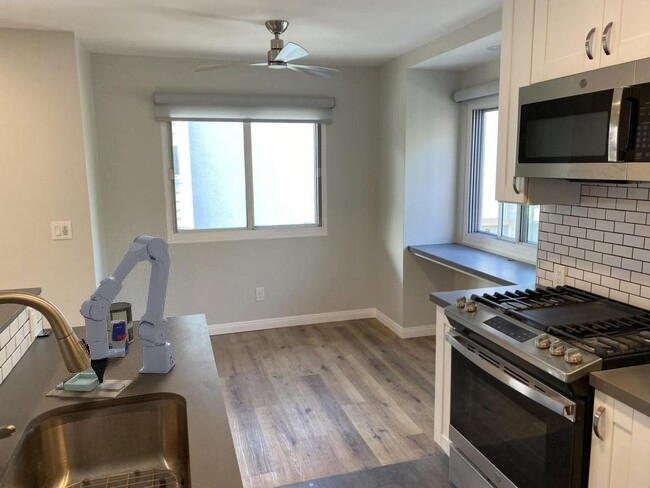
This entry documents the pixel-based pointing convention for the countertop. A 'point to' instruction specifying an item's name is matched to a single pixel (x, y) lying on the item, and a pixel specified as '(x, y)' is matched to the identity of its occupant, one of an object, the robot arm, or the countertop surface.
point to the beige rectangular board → (100, 391)
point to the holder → (82, 382)
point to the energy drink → (119, 334)
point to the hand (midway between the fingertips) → (101, 382)
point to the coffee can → (120, 312)
